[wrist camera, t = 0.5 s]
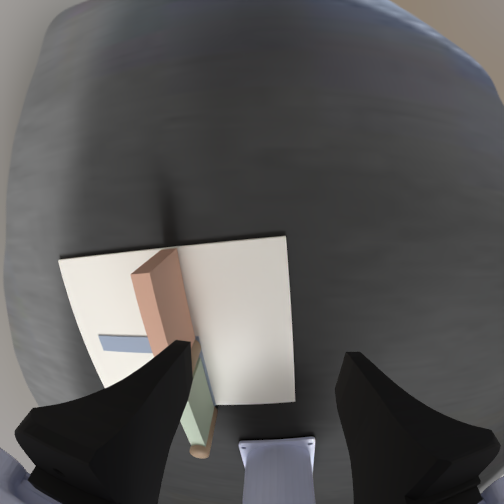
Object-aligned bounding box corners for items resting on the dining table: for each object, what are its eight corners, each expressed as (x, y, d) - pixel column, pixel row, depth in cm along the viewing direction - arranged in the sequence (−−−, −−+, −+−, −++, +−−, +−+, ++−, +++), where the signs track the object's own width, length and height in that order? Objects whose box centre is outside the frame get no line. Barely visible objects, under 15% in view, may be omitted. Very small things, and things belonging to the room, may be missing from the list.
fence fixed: (219, 415, 24) (210, 459, 19) (203, 415, 24) (192, 457, 19) (203, 356, 22) (188, 402, 17) (184, 356, 22) (166, 400, 17)
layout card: (295, 399, 23) (295, 402, 23) (109, 394, 25) (108, 396, 24) (285, 235, 19) (286, 237, 19) (60, 259, 21) (57, 260, 20)
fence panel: (203, 355, 22) (189, 398, 17) (182, 355, 22) (164, 396, 17) (180, 247, 19) (154, 272, 14) (157, 250, 19) (125, 274, 15)
